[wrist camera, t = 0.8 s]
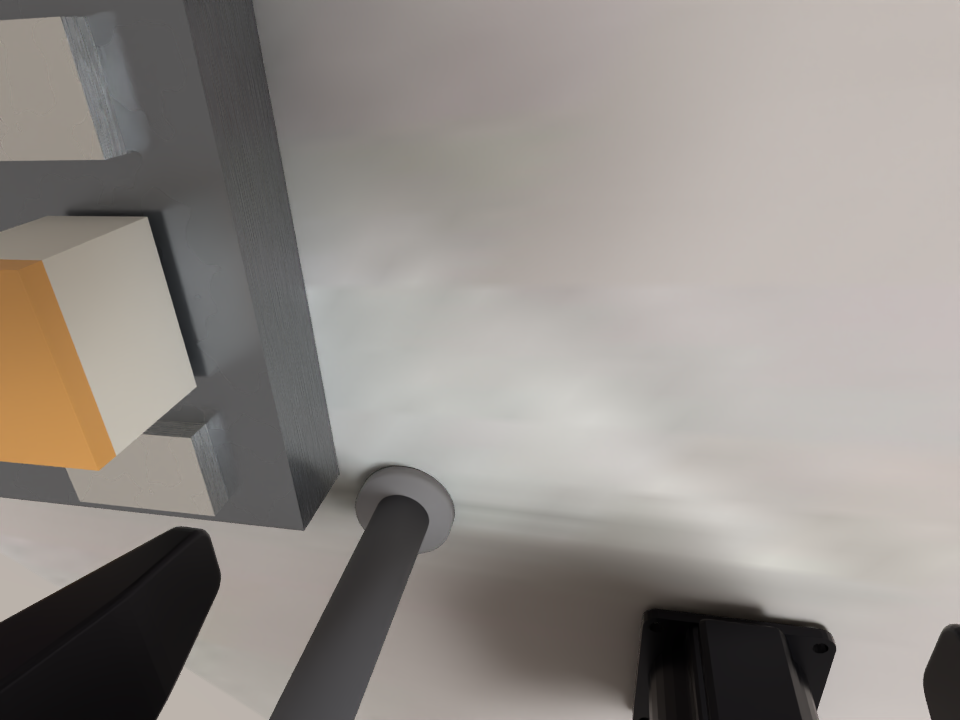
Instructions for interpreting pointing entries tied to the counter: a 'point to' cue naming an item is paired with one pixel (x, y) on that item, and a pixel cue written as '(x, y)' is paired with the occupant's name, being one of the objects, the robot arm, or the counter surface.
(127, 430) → the slider
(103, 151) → the panel
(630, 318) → the counter surface
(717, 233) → the counter surface
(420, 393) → the counter surface
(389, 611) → the post
